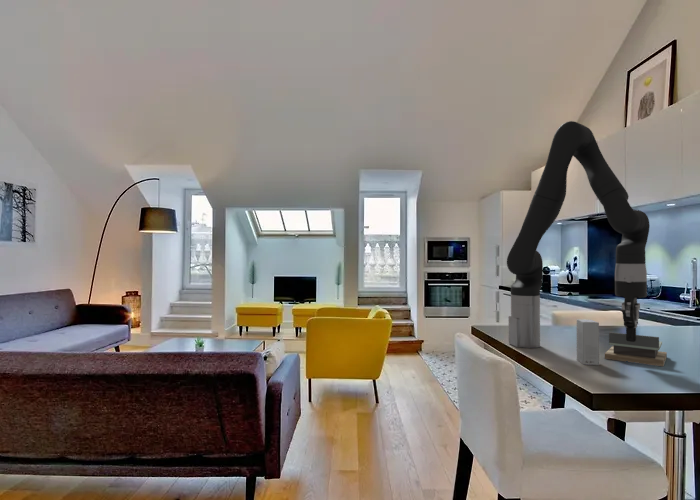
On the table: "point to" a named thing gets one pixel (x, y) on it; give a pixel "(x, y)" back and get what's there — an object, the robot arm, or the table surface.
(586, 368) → the table surface
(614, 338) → the cover
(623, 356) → the socket board
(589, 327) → the skincare box
